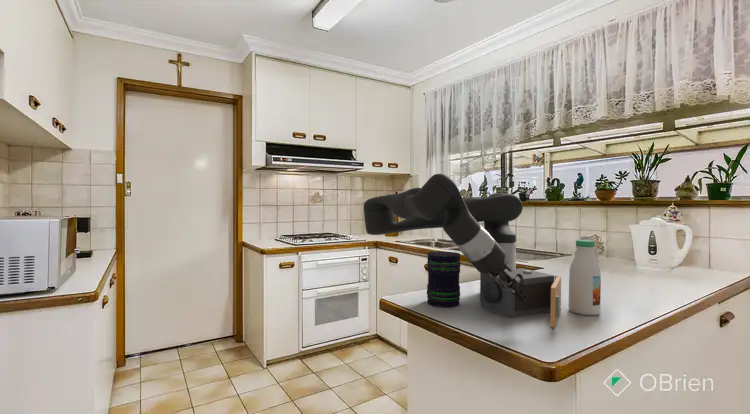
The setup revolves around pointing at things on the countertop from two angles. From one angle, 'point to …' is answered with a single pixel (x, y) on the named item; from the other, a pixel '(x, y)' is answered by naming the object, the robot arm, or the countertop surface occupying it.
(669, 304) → the countertop surface
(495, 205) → the robot arm
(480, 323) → the countertop surface
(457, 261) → the storage jar
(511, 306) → the camera body
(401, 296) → the countertop surface
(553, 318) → the side door
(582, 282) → the milk bottle
